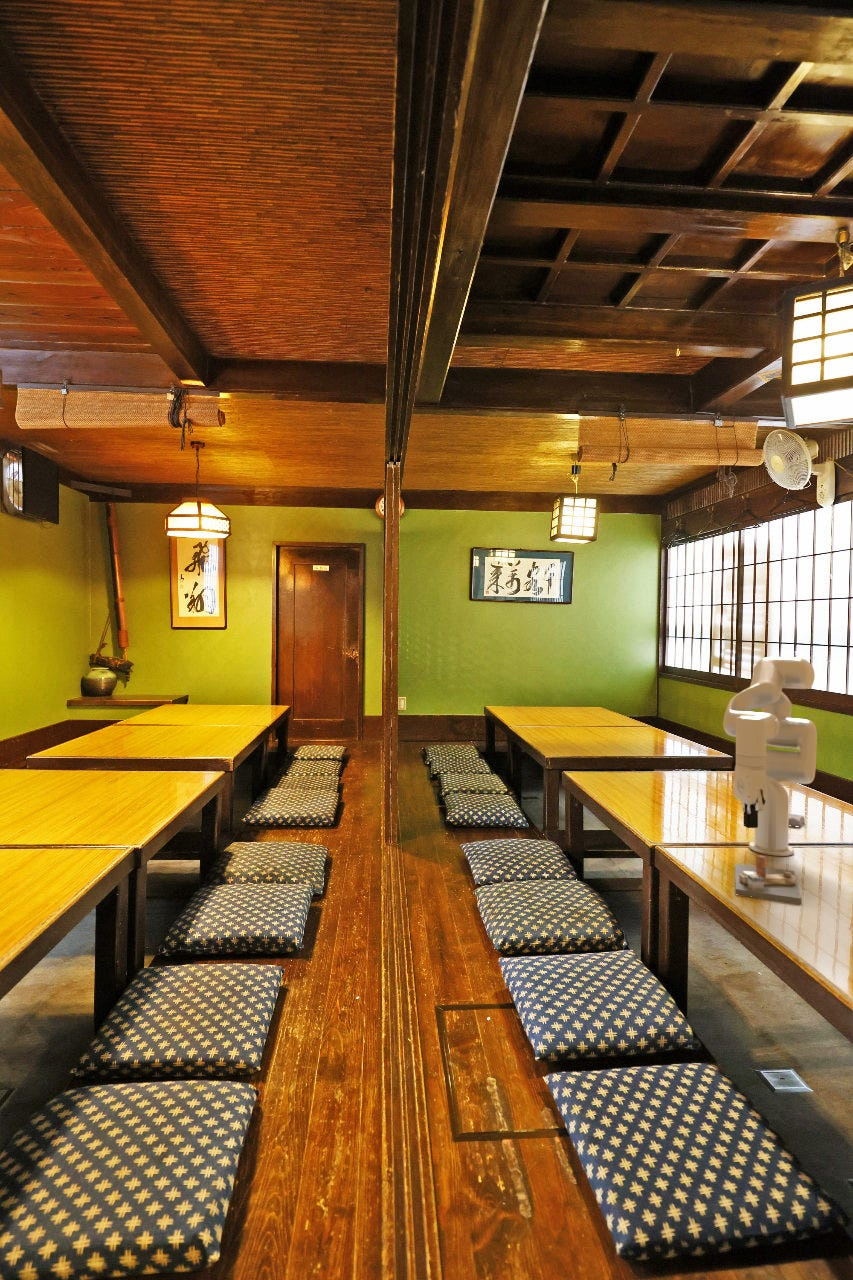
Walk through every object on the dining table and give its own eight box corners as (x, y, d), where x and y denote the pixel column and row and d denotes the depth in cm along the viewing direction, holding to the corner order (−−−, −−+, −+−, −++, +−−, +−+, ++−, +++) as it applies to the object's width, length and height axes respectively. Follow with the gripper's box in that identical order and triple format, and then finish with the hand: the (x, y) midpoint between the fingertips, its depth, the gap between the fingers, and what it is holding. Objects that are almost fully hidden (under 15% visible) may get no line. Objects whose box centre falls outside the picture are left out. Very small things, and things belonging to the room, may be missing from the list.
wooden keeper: (753, 883, 180) (753, 871, 180) (763, 890, 175) (763, 877, 175) (742, 883, 180) (742, 871, 180) (752, 890, 175) (752, 878, 175)
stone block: (771, 822, 253) (762, 821, 246) (773, 809, 253) (764, 808, 246) (807, 829, 244) (798, 829, 237) (808, 816, 245) (800, 816, 238)
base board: (735, 868, 196) (735, 863, 196) (793, 876, 190) (793, 870, 190) (735, 894, 176) (735, 889, 176) (801, 904, 170) (801, 898, 170)
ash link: (790, 879, 182) (790, 854, 182) (798, 885, 178) (798, 859, 178) (738, 879, 182) (738, 854, 182) (745, 884, 178) (745, 859, 178)
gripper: (724, 755, 193) (724, 819, 194) (751, 767, 178) (751, 836, 179) (750, 755, 193) (750, 818, 194) (779, 766, 178) (779, 835, 179)
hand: (750, 826), depth 186 cm, fingers closed
